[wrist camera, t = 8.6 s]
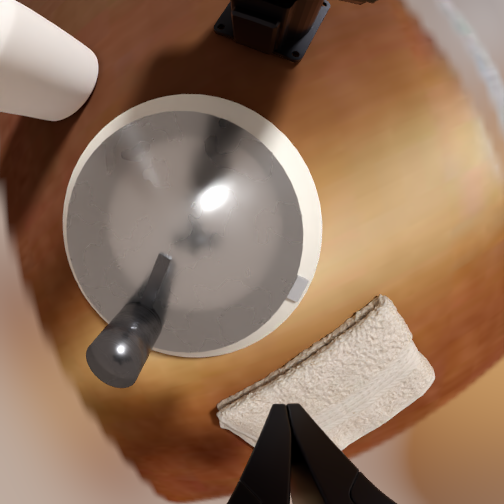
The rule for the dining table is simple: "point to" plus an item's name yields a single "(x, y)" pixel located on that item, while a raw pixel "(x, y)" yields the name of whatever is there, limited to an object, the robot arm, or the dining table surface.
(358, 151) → the dining table surface
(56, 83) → the can
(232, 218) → the dial
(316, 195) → the dial base
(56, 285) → the dining table surface
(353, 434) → the washcloth
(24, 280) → the dining table surface
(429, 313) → the dining table surface
